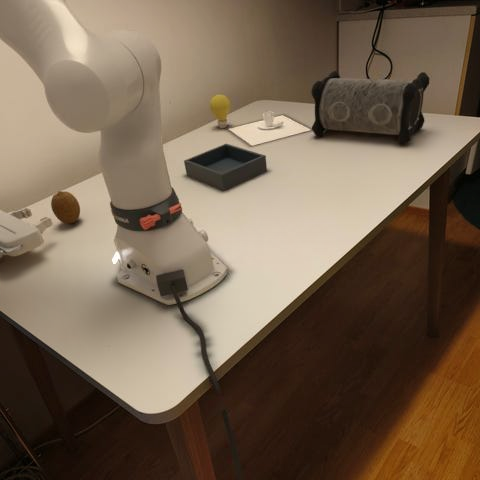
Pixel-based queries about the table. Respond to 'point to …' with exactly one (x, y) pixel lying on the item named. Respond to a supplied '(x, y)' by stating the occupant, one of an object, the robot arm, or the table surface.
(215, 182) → the tub
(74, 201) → the fruit
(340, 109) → the speaker
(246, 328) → the table surface
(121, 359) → the table surface
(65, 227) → the table surface
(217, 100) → the light bulb
